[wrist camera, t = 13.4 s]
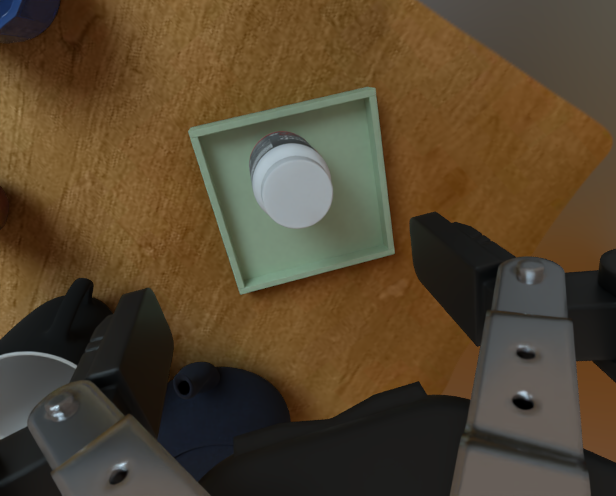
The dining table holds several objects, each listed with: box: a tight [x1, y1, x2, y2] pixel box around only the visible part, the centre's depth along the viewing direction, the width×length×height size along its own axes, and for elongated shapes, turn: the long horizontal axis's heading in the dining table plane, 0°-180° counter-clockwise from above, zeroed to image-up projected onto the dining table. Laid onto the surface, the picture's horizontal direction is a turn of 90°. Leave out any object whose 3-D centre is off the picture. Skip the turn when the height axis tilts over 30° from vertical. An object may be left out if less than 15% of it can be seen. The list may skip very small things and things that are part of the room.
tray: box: [188, 87, 395, 294], centre depth 36 cm, size 15×15×2 cm
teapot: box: [157, 362, 291, 482], centre depth 40 cm, size 25×16×12 cm, turn 6°
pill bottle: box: [249, 131, 333, 229], centre depth 31 cm, size 6×6×10 cm
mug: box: [0, 278, 113, 440], centre depth 33 cm, size 12×9×10 cm
